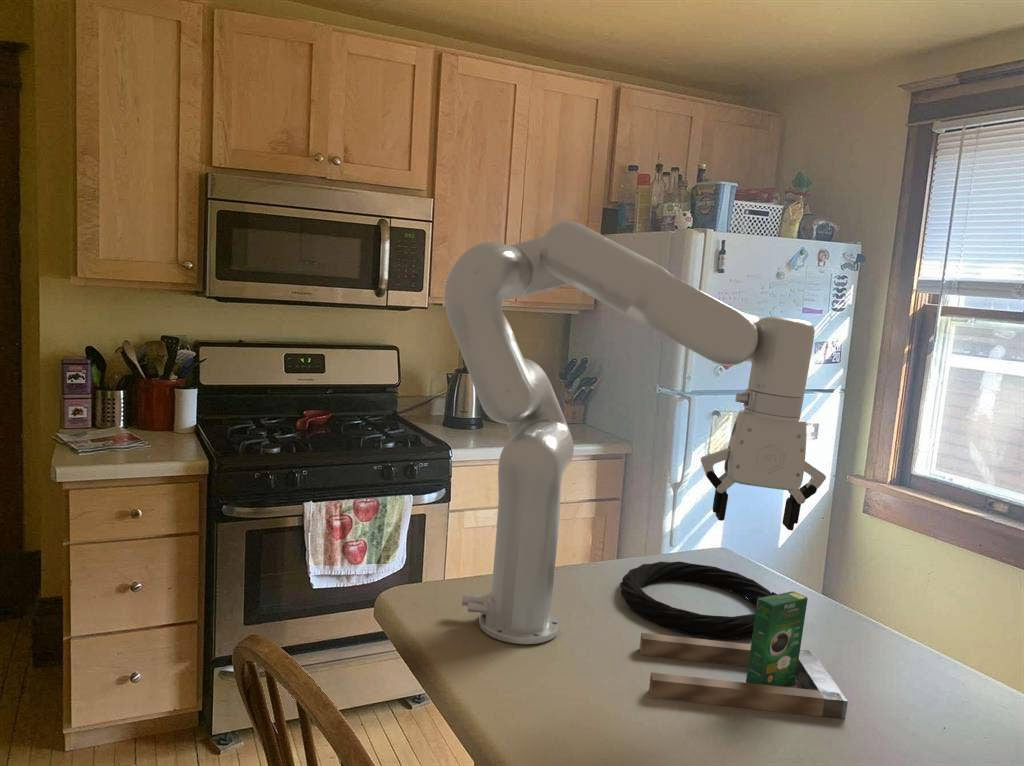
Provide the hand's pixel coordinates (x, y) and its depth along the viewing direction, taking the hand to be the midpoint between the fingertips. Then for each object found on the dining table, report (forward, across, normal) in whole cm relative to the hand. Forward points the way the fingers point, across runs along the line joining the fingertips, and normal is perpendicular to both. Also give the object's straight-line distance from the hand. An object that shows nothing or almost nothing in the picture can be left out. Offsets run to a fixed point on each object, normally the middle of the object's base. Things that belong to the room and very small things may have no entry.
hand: (753, 522), depth 109 cm
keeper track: (+22, 0, -4) cm, 22 cm away
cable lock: (+23, 0, +22) cm, 31 cm away
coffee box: (+22, +5, -4) cm, 23 cm away
